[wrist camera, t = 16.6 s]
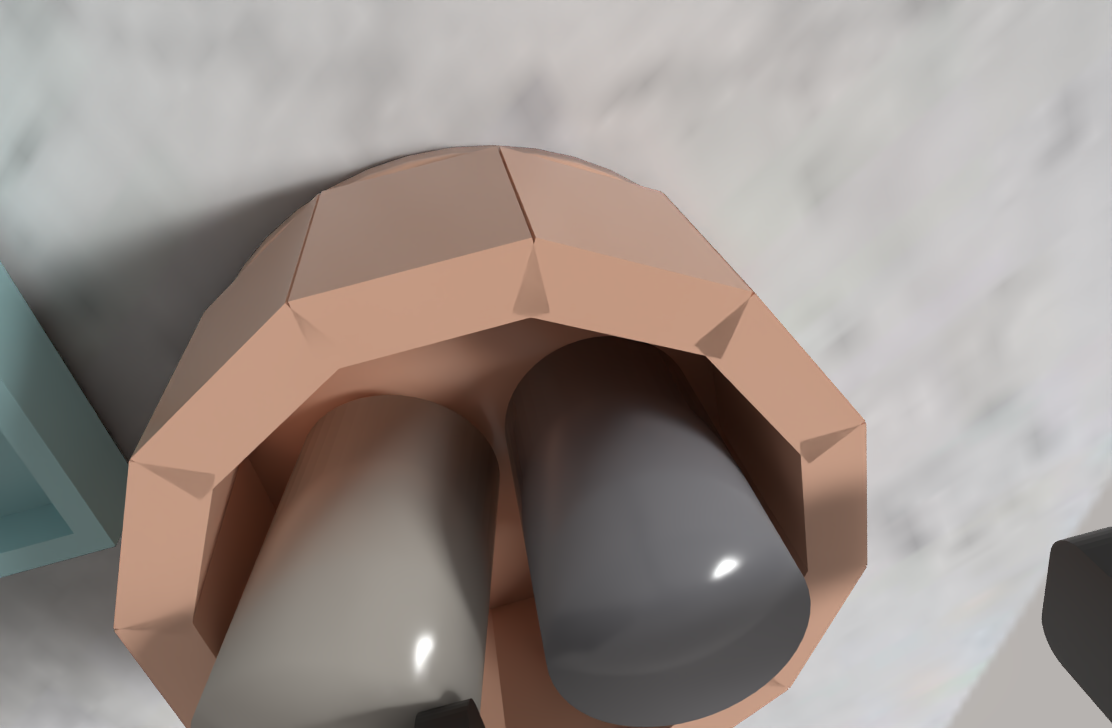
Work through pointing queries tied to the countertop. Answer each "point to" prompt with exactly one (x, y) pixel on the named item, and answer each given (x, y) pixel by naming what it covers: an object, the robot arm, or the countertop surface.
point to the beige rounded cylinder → (366, 577)
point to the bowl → (467, 392)
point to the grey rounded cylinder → (645, 541)
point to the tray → (50, 452)
